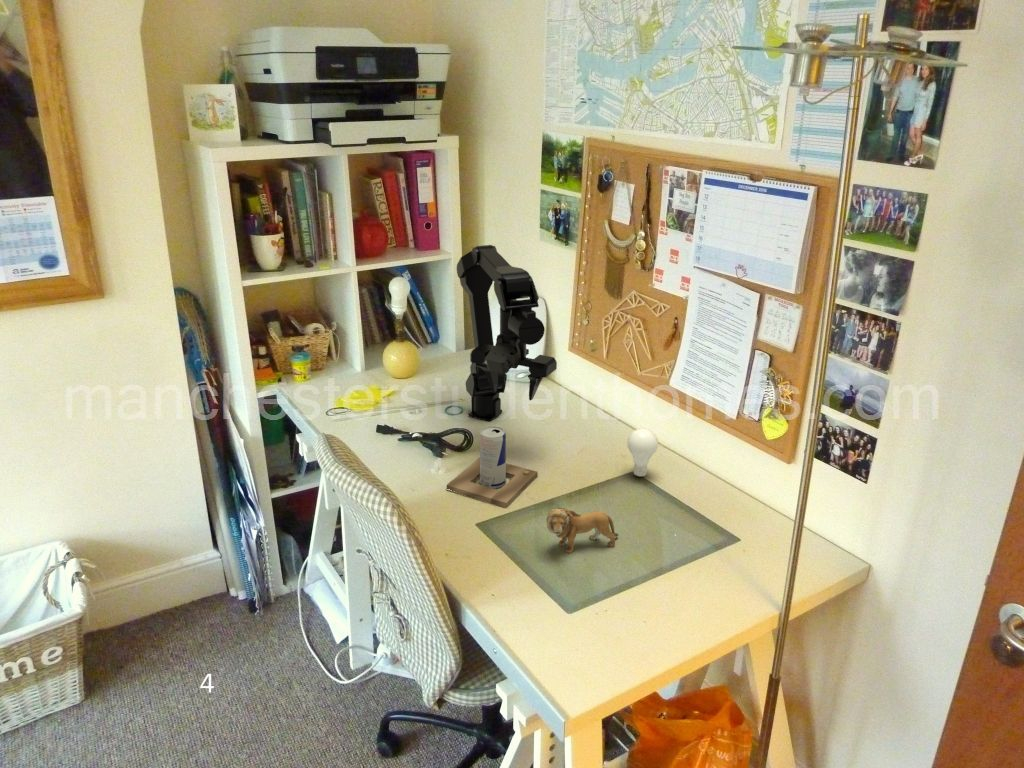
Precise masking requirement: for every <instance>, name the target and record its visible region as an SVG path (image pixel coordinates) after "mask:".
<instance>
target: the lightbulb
mask: <svg viewBox="0 0 1024 768" xmlns="http://www.w3.org/2000/svg"><path fill="white" fill-rule="evenodd" d="M658 446H659V442H658V438H657V436H656V434H655V433H654V432H653V431H652V430H650V429H647V428H643V427H641V428H637V429H634V430H633V431H632V432H631V433H629V435H628V438H627V449H628V451H629V453H630V454H631V456H632V460H633V463H634V466H633V474H634V476H637V477H639V478H641V477H645V476H646V475H647V470H648V464H649V462H650V459H651V458H652V457H653V455H654V454H656V452H657V450H658Z"/></svg>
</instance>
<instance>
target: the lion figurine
mask: <svg viewBox="0 0 1024 768" xmlns="http://www.w3.org/2000/svg"><path fill="white" fill-rule="evenodd" d="M545 519H546V528H547V530H548V533H549V532H550V533H551V534H553V535H555V536H556V537H557V538H558V539H559V538H560V540H559V541H558V545H559V546H564V545H566V543H568V546H567V548H566V549H565V552H566V553H567V554H572V553H573V551H574V550H575V549H574V547H575V545H574V543H575V540H576V537H577V535H579V534H586V533H589V532H590V531H592V530H593V529H595V531H594V533H593V534H590V535H589V536H588V537H589V539H590V540H591V541H593V540H596V539H597V538H598V537H599V536H600V535H602V536H603V537H606V538H607V539H610V541H608V542H607V546H609V548H613V547H614V546H615V545H616V538H617V537H619V533H617V532H616V531H615V525H614V522H613V519H612V518H611V516H610V515H609V514H607V513H606V512H604V511H599V510H593V511H591V512H587V513H582V514H580V513H579V514H578V513H576V511H574V510H570V509H566V508H562V507H557V508H556V507H555V508H553V509H551V510H550V511H549V512H548V514H547V515H546V518H545ZM615 537H616V538H615Z"/></svg>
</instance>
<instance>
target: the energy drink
mask: <svg viewBox="0 0 1024 768" xmlns="http://www.w3.org/2000/svg"><path fill="white" fill-rule="evenodd" d="M479 457H480V478H479V483H480V485H483V486H486V487H490V488H493V489H497V490H498V489H501V488H502V487H503V486H504V485H506V483H507V482H506V480H507V479H506V478H507V477H506V463H507V458H506V457H507V434H506V432H505V430H504V428H502V427H499V426H487V427H484V428H482V429H481V431H480V433H479Z"/></svg>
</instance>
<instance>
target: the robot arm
mask: <svg viewBox="0 0 1024 768" xmlns="http://www.w3.org/2000/svg"><path fill="white" fill-rule="evenodd" d="M456 274H457V277H458V278H459V282H460V283H459V284H460V286H461V287H462V289H463V290H464V291H465V293H466V294H467V295H468V302H469V309H470V310H469V311H470V319H471V328H472V336H473V343H474V344H473V345H474V348H473V349H472V350H471V351H470V355H469V357H470V358H469V359H470V362H471V364H470V367H469V368H470V370H469V371H470V373H469V375H468V376H467V379H466V381H465V388H466V392H467V393H468V394H469V396H470V399H471V402H470V403H471V406H470V407H471V411H470V412H468V414H467V415H469V416H468V417H470V416H472V418H474V417H476V419H478V418H480V419H479V420H483V421H487V422H492V421H493V420H494V419H495V418H497V417H498V416H500V414H502V413H503V410H502V407H501V406H502V405H501V404H502V403H501V401H502V400H501V397H500V394H501V393H502V394H503V393H505V389H506V386H507V385H506V384H507V377H508V375H507V373H508V372H509V371H510V370H511V369H515V370H516V369H517V368H518V367H519V366H520V367H526V368H528V371H529V373H530V374H528V375H527V377H528V379H529V386H528V388H529V389H528V400H529V401H532V400H534V398H535V396H536V393H537V391H538V389H539V386H540V385H541V382H542V380H543V379H544V378H547V377H548V376H550V375H551V374H552V373H553V372H555V371H557V365H558V362H557V360H556V358H555V357H553V356H550V355H544V354H543V355H542V354H539V355H538V356H537V355H536V357H535V358H531V357H527V356H528V355H529V354H530V353H529V352H530V349H528V348H527V345H529V346H531V345H535V344H537V343H539V342H540V341H541V340H542V338H543V336H544V335H545V331H546V330H545V325H544V323H543V321H542V320H540V319H539V318H538V317H537V313H536V311H535V310H534V309H533V308H539V306H540V305H539V300H540V298H539V294H538V291H537V288H536V285H535V282H534V280H533V278H532V276H531V275H530V273H529V272H528V271H527V270H525V269H524V268H521V267H516V266H512V265H511V264H510V263H509V262H508V261H507V260H506V259H505V258H504V257H503V256H502V254H500V253H499V252H498V250H497V248H496V245H492V244H487V245H476V246H475V247H473V248H471V251H469V252H467V253H466V254H464V255H462V256H460V259H459V260H458V262H457V264H456ZM492 285H493V288H494V289H493V290H494V293H495V296H496V299H497V303H498V304H499V334H498V335H496V338H495V339H496V341H495V345H494V336H493V328H492V327H493V326H492V318H491V309H490V308H491V307H490V300H489V292H490V289H491V287H492Z"/></svg>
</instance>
